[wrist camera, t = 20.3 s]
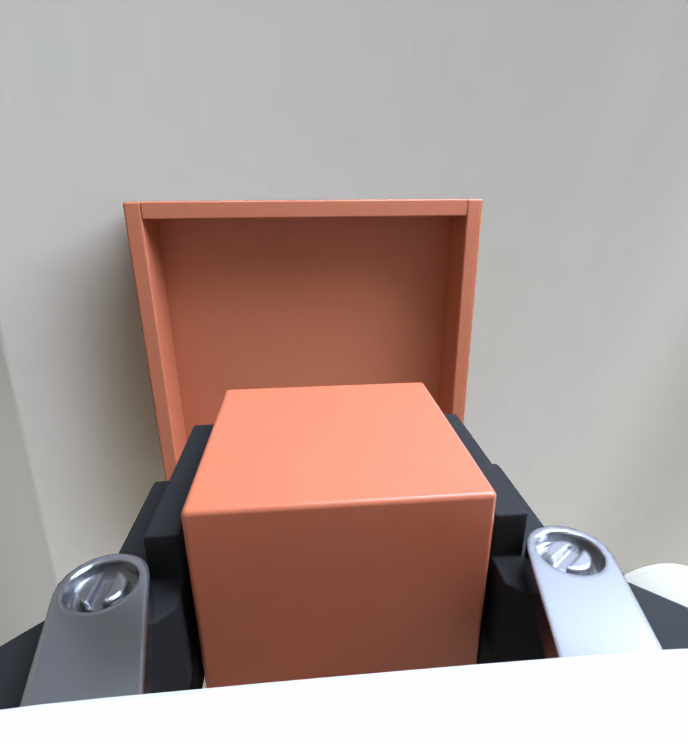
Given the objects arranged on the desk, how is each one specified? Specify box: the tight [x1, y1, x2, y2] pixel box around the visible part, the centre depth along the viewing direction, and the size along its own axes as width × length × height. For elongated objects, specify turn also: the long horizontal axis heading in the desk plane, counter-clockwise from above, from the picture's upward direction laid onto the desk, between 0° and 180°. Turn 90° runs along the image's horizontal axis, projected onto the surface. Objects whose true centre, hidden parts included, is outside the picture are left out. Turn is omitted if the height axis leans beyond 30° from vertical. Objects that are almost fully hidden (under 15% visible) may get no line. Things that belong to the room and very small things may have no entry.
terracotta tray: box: [123, 199, 483, 481], centre depth 21 cm, size 13×12×2 cm
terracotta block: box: [181, 382, 496, 688], centre depth 10 cm, size 4×4×4 cm
